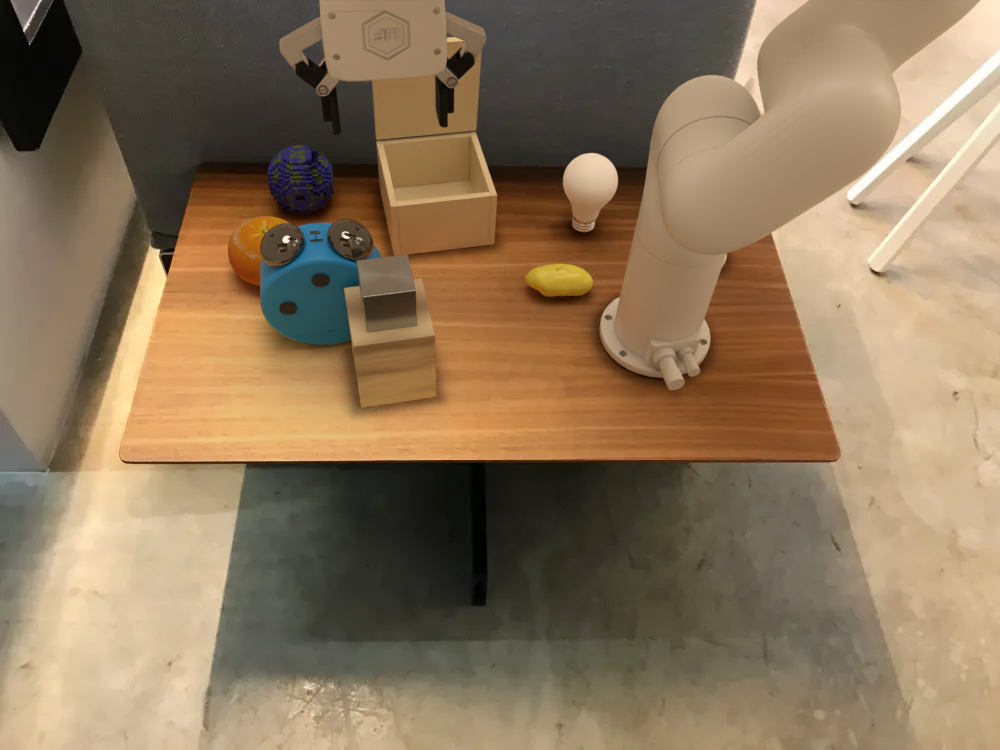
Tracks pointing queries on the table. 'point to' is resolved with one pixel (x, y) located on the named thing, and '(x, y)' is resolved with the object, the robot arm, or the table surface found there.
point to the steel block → (387, 293)
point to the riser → (393, 355)
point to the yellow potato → (559, 280)
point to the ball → (301, 179)
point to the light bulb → (589, 188)
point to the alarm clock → (312, 278)
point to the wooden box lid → (425, 103)
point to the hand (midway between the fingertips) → (389, 122)
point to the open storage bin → (436, 193)
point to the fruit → (250, 247)
